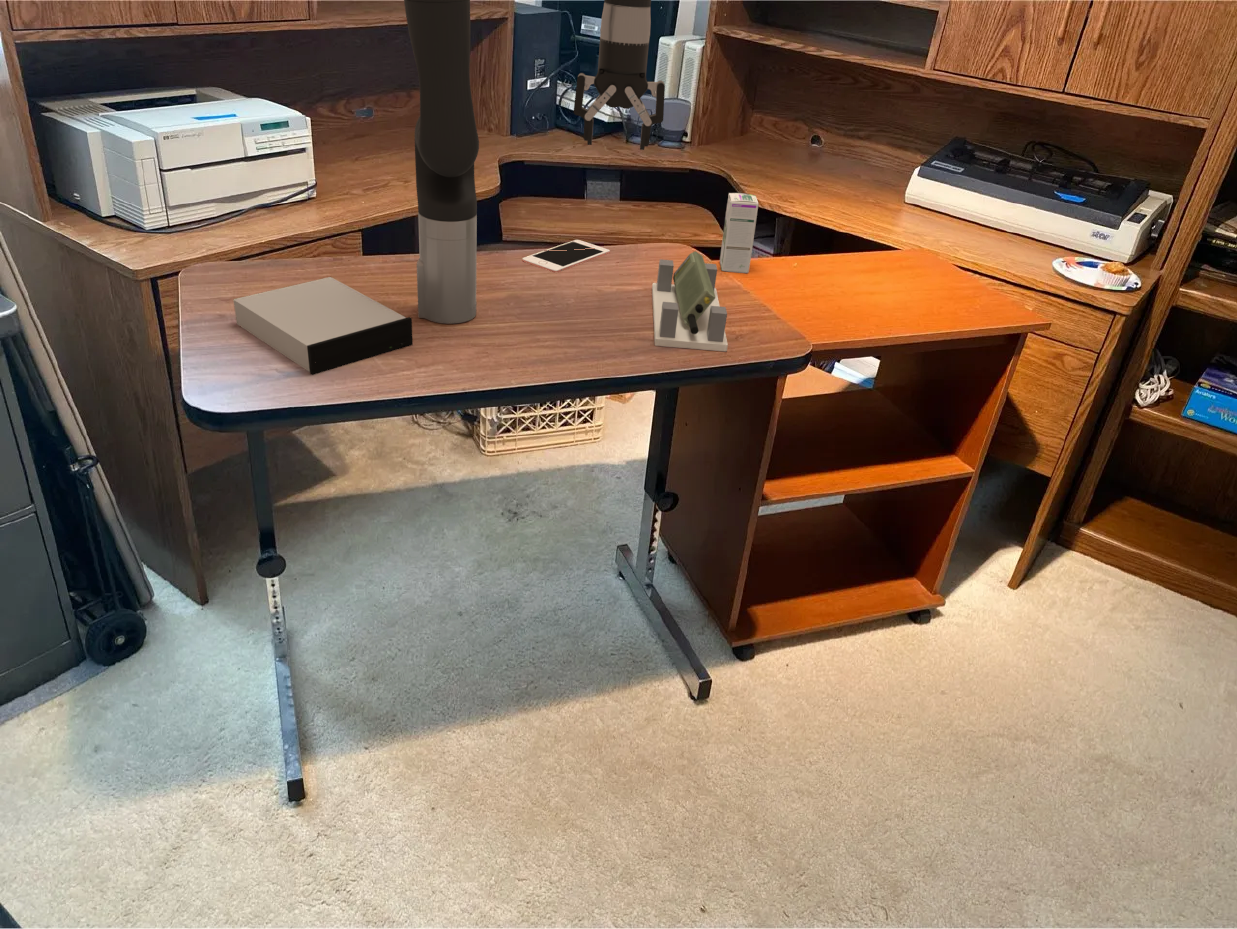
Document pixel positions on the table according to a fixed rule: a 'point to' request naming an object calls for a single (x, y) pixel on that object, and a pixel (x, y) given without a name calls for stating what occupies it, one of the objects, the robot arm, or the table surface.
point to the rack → (669, 316)
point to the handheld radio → (693, 289)
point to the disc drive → (323, 324)
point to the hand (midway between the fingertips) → (615, 146)
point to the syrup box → (738, 232)
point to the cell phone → (565, 255)
